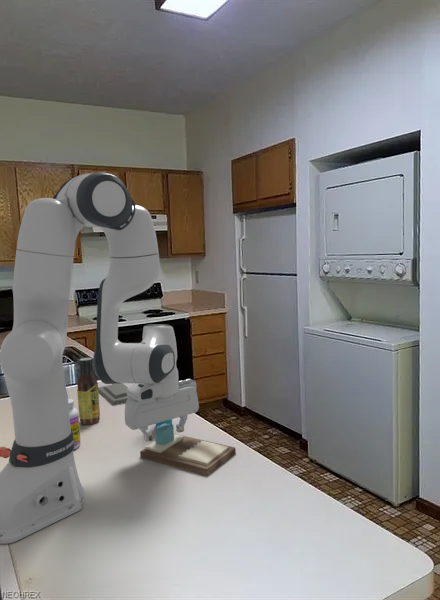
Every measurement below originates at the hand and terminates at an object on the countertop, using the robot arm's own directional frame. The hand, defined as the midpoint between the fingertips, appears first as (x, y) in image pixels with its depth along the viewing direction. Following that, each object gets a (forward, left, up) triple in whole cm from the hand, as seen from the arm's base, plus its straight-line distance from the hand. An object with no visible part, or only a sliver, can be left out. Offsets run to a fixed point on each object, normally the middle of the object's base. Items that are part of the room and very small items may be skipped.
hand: (164, 436), depth 122 cm
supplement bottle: (-11, +25, -4) cm, 27 cm away
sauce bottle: (+5, +34, -4) cm, 34 cm away
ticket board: (0, -7, -4) cm, 8 cm away
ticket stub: (0, 0, -2) cm, 2 cm away
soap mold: (+28, +45, -4) cm, 53 cm away
